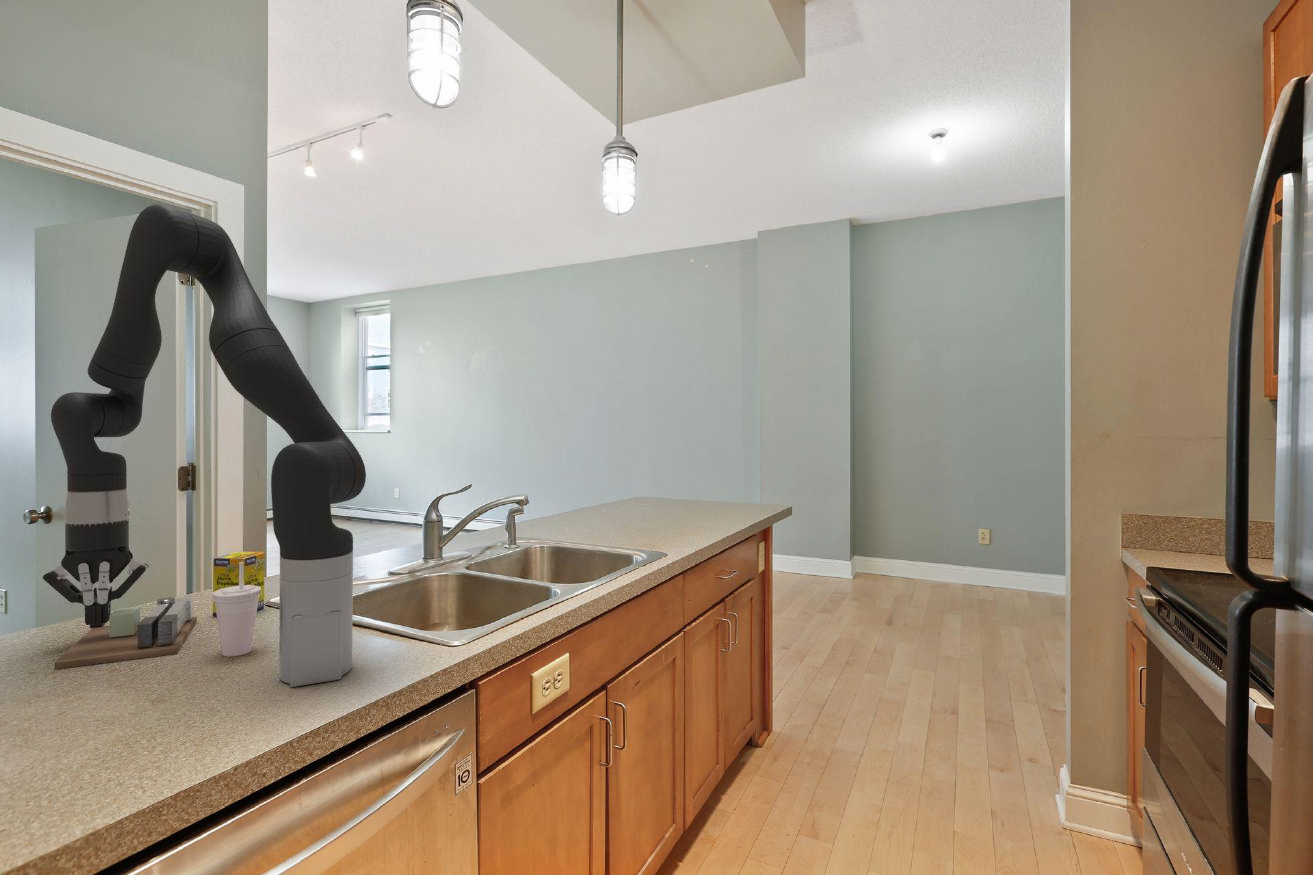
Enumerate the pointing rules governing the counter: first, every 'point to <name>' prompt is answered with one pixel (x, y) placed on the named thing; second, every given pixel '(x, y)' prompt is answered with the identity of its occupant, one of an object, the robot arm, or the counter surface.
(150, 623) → the bar
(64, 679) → the counter surface
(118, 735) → the counter surface
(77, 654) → the walnut board
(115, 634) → the tab
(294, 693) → the counter surface
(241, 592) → the smoothie
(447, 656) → the counter surface
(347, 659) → the robot arm
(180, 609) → the fixed jaw
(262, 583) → the supplement box
